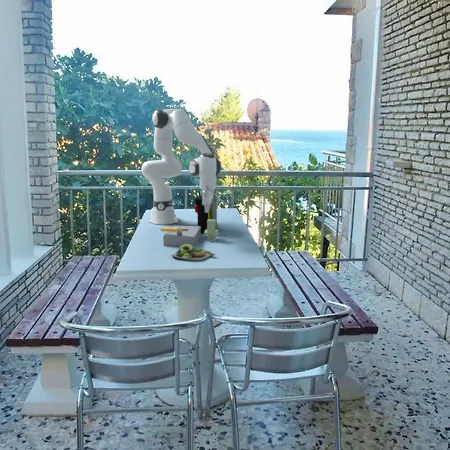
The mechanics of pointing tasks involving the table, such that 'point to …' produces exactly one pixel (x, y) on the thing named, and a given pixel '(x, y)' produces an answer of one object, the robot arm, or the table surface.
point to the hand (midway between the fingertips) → (207, 210)
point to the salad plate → (191, 253)
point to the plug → (211, 230)
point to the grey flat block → (183, 236)
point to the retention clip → (173, 230)
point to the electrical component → (205, 216)
